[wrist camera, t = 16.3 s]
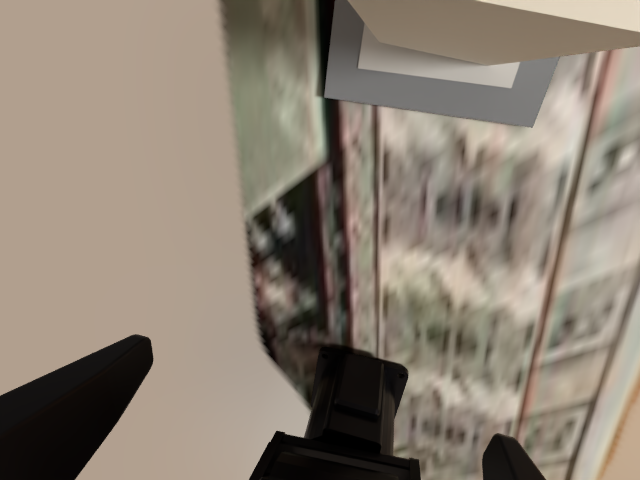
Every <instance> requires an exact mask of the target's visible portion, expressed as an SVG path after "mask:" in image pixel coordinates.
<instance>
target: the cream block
mask: <svg viewBox="0 0 640 480" xmlns="http://www.w3.org/2000/svg"><path fill="white" fill-rule="evenodd" d="M348 2H349V3H350V4H351V5H352V7H353V8H354V9H355V11H356V12H357V13H358V15H359V16H360V17H361V19H362V20H363V21H364V23H365V24H366V25H367V27H368V28H369V29H370V31H371V32H372V33H373V35H374V36H375V37H376V39H377V40H378V41H379V42H380V43H385V44H390V45H394V46H399V47H404V48H408V49H413V50H418V51H423V52H427V53H432V54H437V55H441V56H446V57H451V58H455V59H460V60H465V61H469V62H474V63H479V64H484V65H488V66H491V65H498V64H506V63H514V62H522V61H529V60H537V59H545V58H552V57H560V56H568V55H575V54H583V53H591V52H599V51H606V50H614V49H622V48H629V47H637V46H640V0H348Z"/></svg>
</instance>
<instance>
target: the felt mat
mask: <svg viewBox="0 0 640 480" xmlns="http://www.w3.org/2000/svg"><path fill="white" fill-rule="evenodd" d="M559 58H560V57H552V58H545V59H537V60H529V61H522V62H514V63H506V64H498V65H491V66H488V65H484V64H479V63H474V62H469V61H465V60H460V59H455V58H451V57H446V56H441V55H437V54H432V53H427V52H423V51H418V50H413V49H408V48H404V47H399V46H394V45H390V44H385V43H380V42H379V41H378V40H377V39H376V37H375V36H374V35H373V33H372V32H371V31H370V29H369V28H368V27H367V25H366V24H365V23H364V21H363V20H362V19H361V17H360V16H359V15H358V13H357V12H356V11H355V9H354V8H353V7H352V5H351V4H350V3H349V2H348V0H335V5H334V14H333V23H332V32H331V41H330V49H329V58H328V67H327V76H326V85H325V94H324V97H325V98H332V99H339V100H346V101H352V102H359V103H366V104H373V105H380V106H387V107H394V108H401V109H407V110H414V111H421V112H428V113H435V114H442V115H449V116H456V117H462V118H469V119H476V120H483V121H490V122H497V123H504V124H511V125H518V126H524V127H531V128H533V125H534V123H535V120H536V118H537V115H538V112H539V110H540V107H541V105H542V102H543V100H544V97H545V94H546V92H547V89H548V87H549V84H550V81H551V79H552V76H553V74H554V71H555V68H556V66H557V63H558V61H559Z"/></svg>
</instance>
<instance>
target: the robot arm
mask: <svg viewBox="0 0 640 480" xmlns="http://www.w3.org/2000/svg"><path fill="white" fill-rule="evenodd" d="M324 353H325V354H328V355H325V354H324ZM152 364H153V353H152V346H151V340H150V339H149V338H148V337H145V336H141V335H136V334H135V335H132V336H129V337H127V338H125V339H123V340H120V341H118V342H116V343H114V344H112V345H110V346H108V347H105V348H103V349H101V350H99V351H97V352H94V353H92V354H90V355H88V356H86V357H83V358H81V359H79V360H77V361H75V362H73V363H70V364H68V365H66V366H64V367H62V368H59V369H57V370H55V371H53V372H51V373H49V374H46V375H44V376H42V377H40V378H38V379H35V380H33V381H32V382H29V383H27V384H25V385H23V386H20V387H18V388H16V389H14V390H12V391H9V392H7V393H5V394H3V395H1V396H0V480H75V479H76V477H77V476H78V475H79V473H80V472H81V471H82V469H83V468H84V467H85V465H86V464H87V462H88V461H89V460H90V459H91V457H92V456H93V455H94V453H95V452H96V451H97V449H98V448H99V446H100V445H101V444H102V442H103V441H104V440H105V438H106V437H107V436H108V434H109V433H110V432H111V430H112V429H113V427H114V426H115V425H116V423H117V422H118V420H119V419H120V417H121V416H122V414H123V413H124V411H125V410H126V408H127V406H128V404H129V403H130V401H131V400H132V398H133V396H134V395H135V393H136V391H137V390H138V388H139V386H140V385H141V383H142V382H143V380H144V378H145V376H146V375H147V374H148V372H149V370H150V369H151V366H152ZM399 373H403V374H399ZM407 380H408V370H407V369H406V368H405V367H403V366H399V365H395V364H391V363H387V362H383V361H379V360H375V359H371V358H368V357H364V356H360V355H356V354H352V353H348V352H344V351H340V350H336V349H332V348H328V347H322V348H321V349H320V352H319V355H318V361H317V368H316V374H315V381H314V387H313V393H312V400H311V407H312V411H311V414H310V418H309V421H308V425H307V429H306V432H305V436H304V438H302V437H297V436H291V435H287V434H285V432H280V431H276V433H275V434H274V436H273V438H272V440H271V442H269V443H268V445H267V447H266V449H265V451H264V452H263V454H262V456H261V458H260V460H259V462H258V464H257V465H256V467H255V469H254V471H253V473H252V475H251V477H250V479H249V480H421V477H420V466H419V459H414V458H409V459H405V458H400V457H395V456H393V442H394V419H395V416H396V413H397V410H398V407H399V404H400V401H401V398H402V395H403V392H404V389H405V386H406V383H407ZM482 467H483V480H546V479H545V478H544V476H543V475H542V473H541V472H540V471H539V469H538V468H537V467H536V465H535V464H534V463H533V461H532V460H531V459H530V457H529V456H528V454H527V453H526V452H525V450H524V449H523V448H522V446H521V445H520V444H519V442H518V441H517V440H516V439H515V438H513V437H510V436H507V435H503V434H499V433H497V434H495V435H494V436H493V437H492V439H491V441H490V443H489V445H488V446H487V448H486V450H485V452H484V454H483V459H482Z"/></svg>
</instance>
